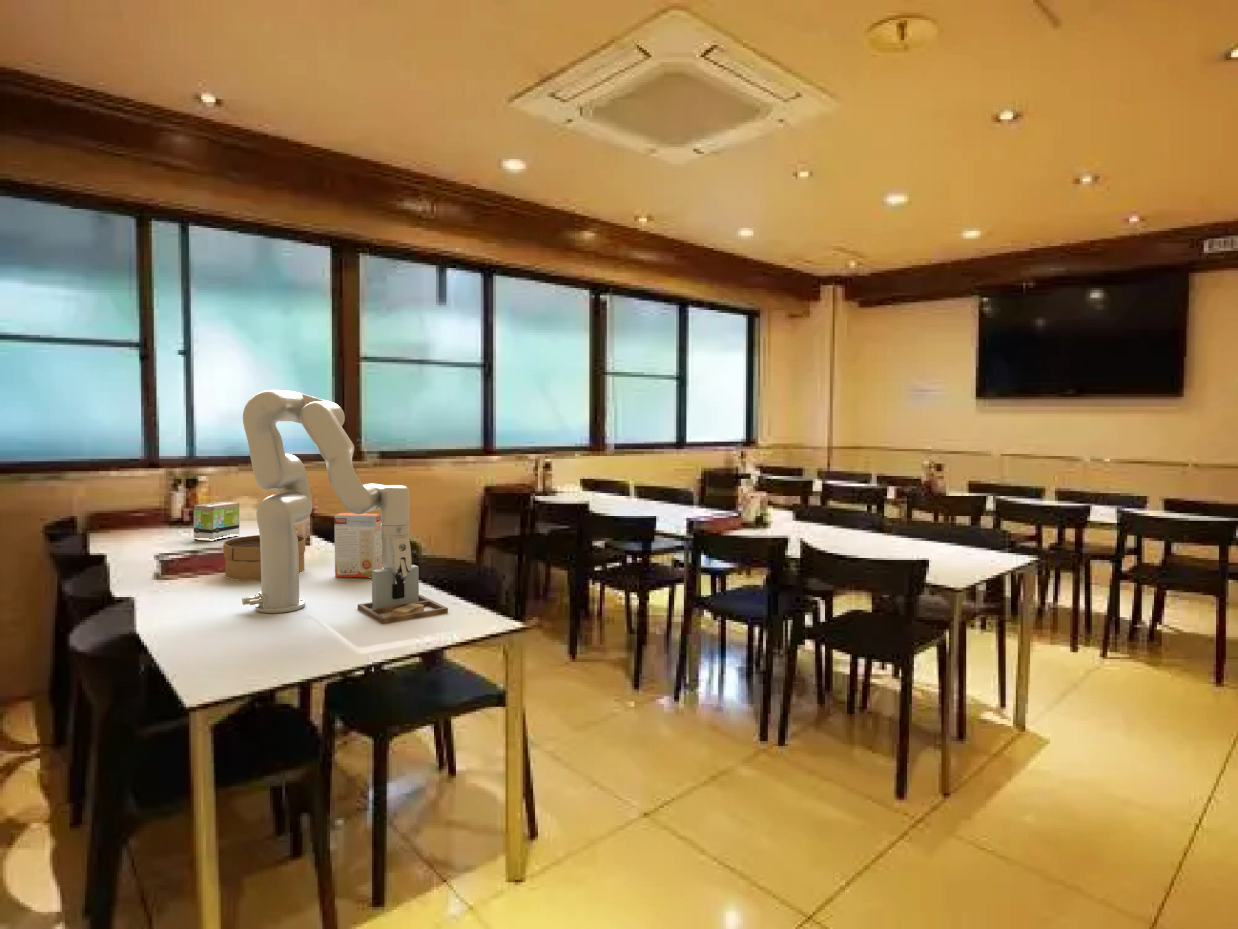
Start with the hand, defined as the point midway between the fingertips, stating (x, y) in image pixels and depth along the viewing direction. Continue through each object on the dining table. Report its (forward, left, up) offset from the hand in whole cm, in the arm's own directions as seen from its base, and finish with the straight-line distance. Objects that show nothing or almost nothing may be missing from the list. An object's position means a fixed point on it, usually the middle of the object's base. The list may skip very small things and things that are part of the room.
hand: (395, 596), depth 201 cm
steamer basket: (-16, +72, -5) cm, 74 cm away
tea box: (-16, +151, -5) cm, 152 cm away
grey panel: (0, 0, -4) cm, 4 cm away
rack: (0, -5, -4) cm, 6 cm away
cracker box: (+7, +48, -5) cm, 49 cm away
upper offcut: (0, -9, -3) cm, 9 cm away
